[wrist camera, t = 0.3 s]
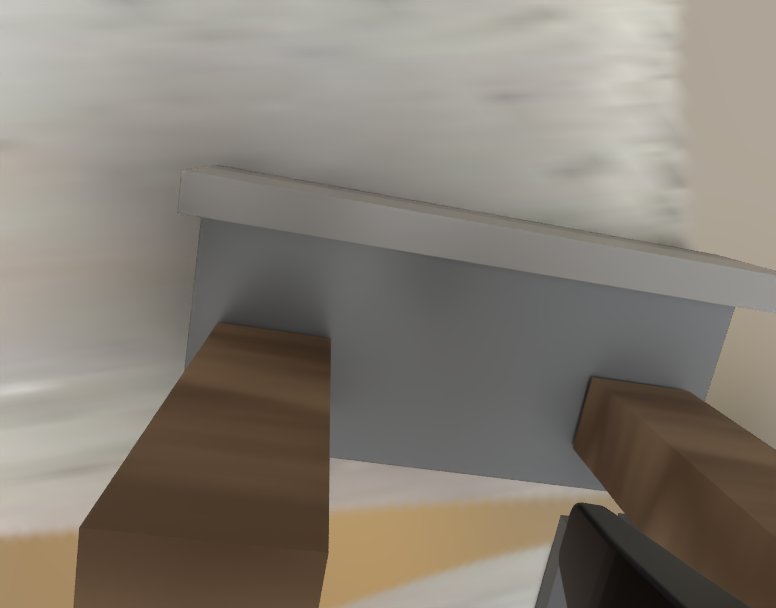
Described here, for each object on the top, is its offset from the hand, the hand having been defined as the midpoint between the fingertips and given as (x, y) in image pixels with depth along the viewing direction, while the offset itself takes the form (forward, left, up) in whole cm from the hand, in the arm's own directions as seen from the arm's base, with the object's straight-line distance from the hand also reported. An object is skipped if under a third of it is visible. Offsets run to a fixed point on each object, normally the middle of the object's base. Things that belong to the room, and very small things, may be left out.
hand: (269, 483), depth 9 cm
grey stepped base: (-1, -6, -15) cm, 16 cm away
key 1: (-3, -13, -13) cm, 19 cm away
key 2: (-3, +1, -13) cm, 13 cm away
